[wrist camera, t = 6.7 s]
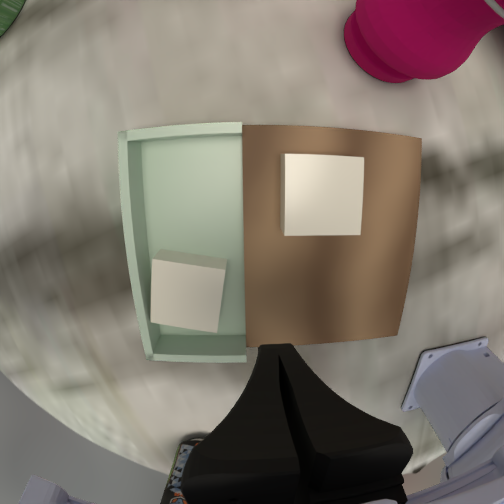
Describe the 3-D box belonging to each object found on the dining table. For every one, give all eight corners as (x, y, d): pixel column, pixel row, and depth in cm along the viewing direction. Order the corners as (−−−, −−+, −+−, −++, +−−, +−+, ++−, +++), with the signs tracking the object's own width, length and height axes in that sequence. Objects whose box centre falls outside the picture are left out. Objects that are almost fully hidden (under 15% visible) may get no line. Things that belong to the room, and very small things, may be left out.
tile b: (352, 156, 18) (364, 157, 16) (349, 227, 19) (360, 235, 17) (280, 153, 17) (285, 153, 15) (280, 227, 19) (284, 235, 17)
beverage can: (247, 448, 27) (250, 546, 16) (202, 469, 28) (195, 554, 17) (201, 422, 26) (190, 530, 14) (158, 446, 27) (139, 537, 16)
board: (412, 138, 18) (421, 138, 17) (391, 327, 23) (397, 335, 22) (241, 127, 18) (241, 125, 17) (245, 338, 23) (246, 347, 21)
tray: (241, 127, 18) (241, 121, 15) (245, 338, 23) (246, 362, 20) (134, 134, 18) (117, 131, 15) (156, 337, 22) (146, 359, 20)
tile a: (227, 258, 20) (225, 269, 18) (218, 318, 21) (217, 332, 19) (160, 248, 20) (152, 258, 18) (157, 308, 21) (150, 322, 19)
